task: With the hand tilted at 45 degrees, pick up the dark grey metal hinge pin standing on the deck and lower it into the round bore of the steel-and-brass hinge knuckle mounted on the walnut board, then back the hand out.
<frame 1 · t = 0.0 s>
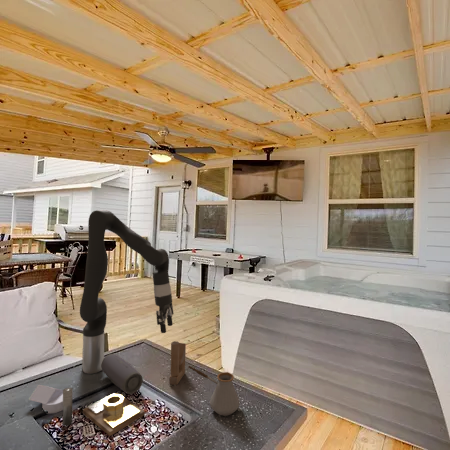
hand: (167, 329, 139), 22 cm above the table, tool pointing down, fingers open, 8 cm apart
wooden block: (177, 379, 139), on the table
coffee pot: (212, 407, 120), on the table
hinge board: (113, 414, 114), on the table
pin: (67, 423, 109), on the table
wedge on round base: (51, 405, 119), on the table
hinge: (113, 405, 114), on the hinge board, point 4 cm above the table
bluetooth speaker: (121, 385, 133), on the table
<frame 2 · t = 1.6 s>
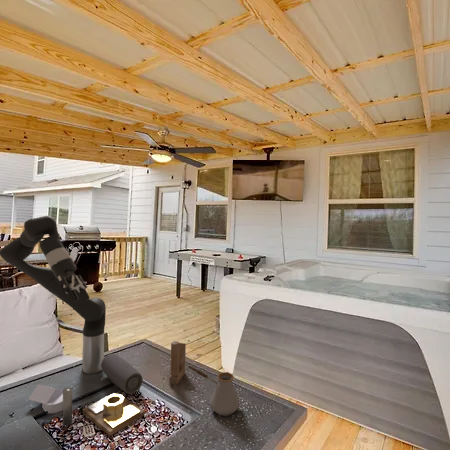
hand: (81, 300, 111), 43 cm above the table, tool tilted 35°, fingers open, 8 cm apart
nothing on the table moved.
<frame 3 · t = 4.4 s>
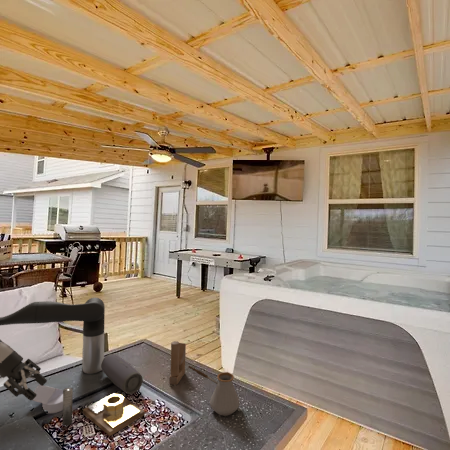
hand: (39, 390, 106), 13 cm above the table, tool tilted 45°, fingers open, 8 cm apart
nothing on the table moved.
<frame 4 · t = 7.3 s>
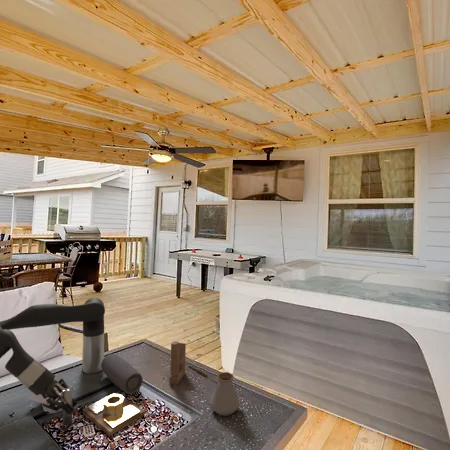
hand: (73, 408, 109), 5 cm above the table, tool tilted 45°, fingers closed on pin, 3 cm apart
pin: (67, 423, 108), on the table, touching gripper
everything else where it was.
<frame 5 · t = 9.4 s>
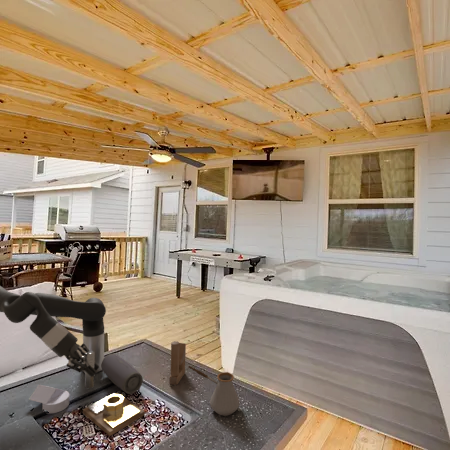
hand: (95, 371, 110), 18 cm above the table, tool tilted 45°, fingers closed on pin, 3 cm apart
pin: (89, 386, 110), point 13 cm above the table, touching gripper
everything else where it was.
when the fingers open (8 cm above the table, at t = 11.6 s): pin stays where it is, resting on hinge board.
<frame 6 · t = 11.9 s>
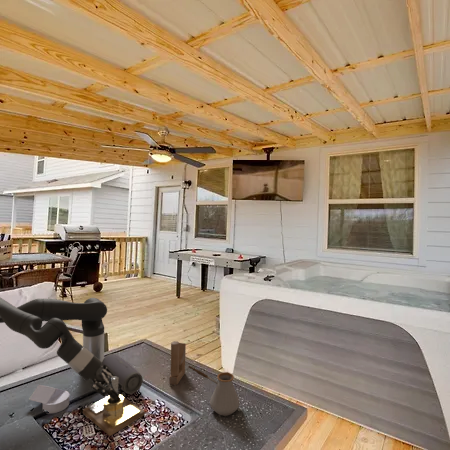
hand: (118, 392, 114), 8 cm above the table, tool tilted 45°, fingers open, 5 cm apart
pin: (113, 410, 114), point 2 cm above the table, touching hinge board
everything else where it was.
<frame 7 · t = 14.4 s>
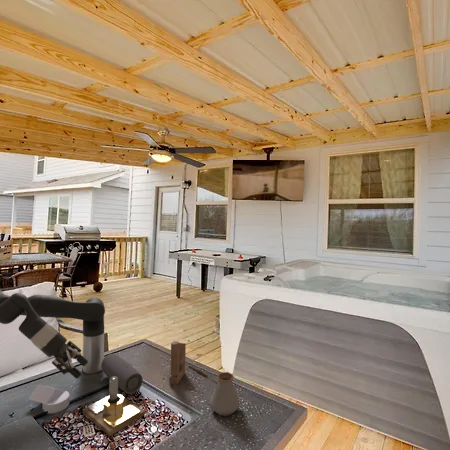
hand: (82, 369, 111), 18 cm above the table, tool tilted 45°, fingers open, 8 cm apart
nothing on the table moved.
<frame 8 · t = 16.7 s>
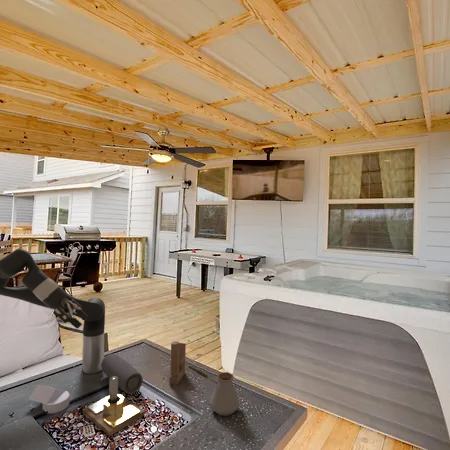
hand: (83, 322, 116), 33 cm above the table, tool tilted 45°, fingers open, 8 cm apart
nothing on the table moved.
at the end: pin 0.1 cm off-centre on the hinge, point 1.5 cm above the hinge's base; pin tilted 0°; the gripper is holding nothing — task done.
